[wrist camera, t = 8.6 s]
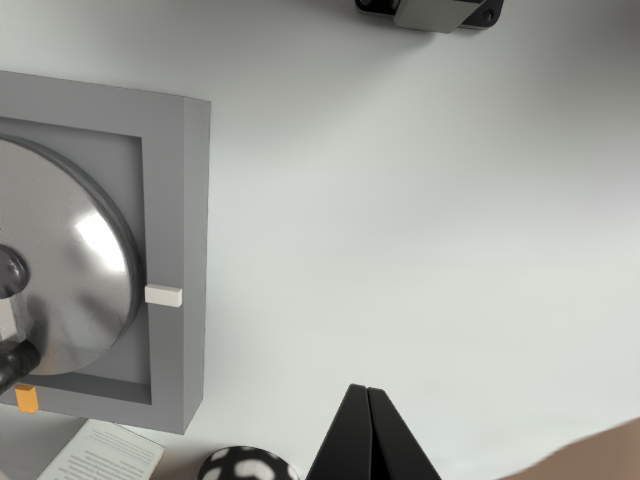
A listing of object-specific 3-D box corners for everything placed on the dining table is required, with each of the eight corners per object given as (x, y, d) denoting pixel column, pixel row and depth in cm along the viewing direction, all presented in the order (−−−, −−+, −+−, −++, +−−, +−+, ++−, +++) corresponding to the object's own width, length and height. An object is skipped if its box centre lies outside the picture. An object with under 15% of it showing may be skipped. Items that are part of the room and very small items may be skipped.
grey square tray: (-150, 50, 18) (-256, 33, 15) (210, 101, 18) (179, 95, 14) (-62, 353, 25) (-124, 387, 21) (202, 398, 24) (180, 440, 21)
